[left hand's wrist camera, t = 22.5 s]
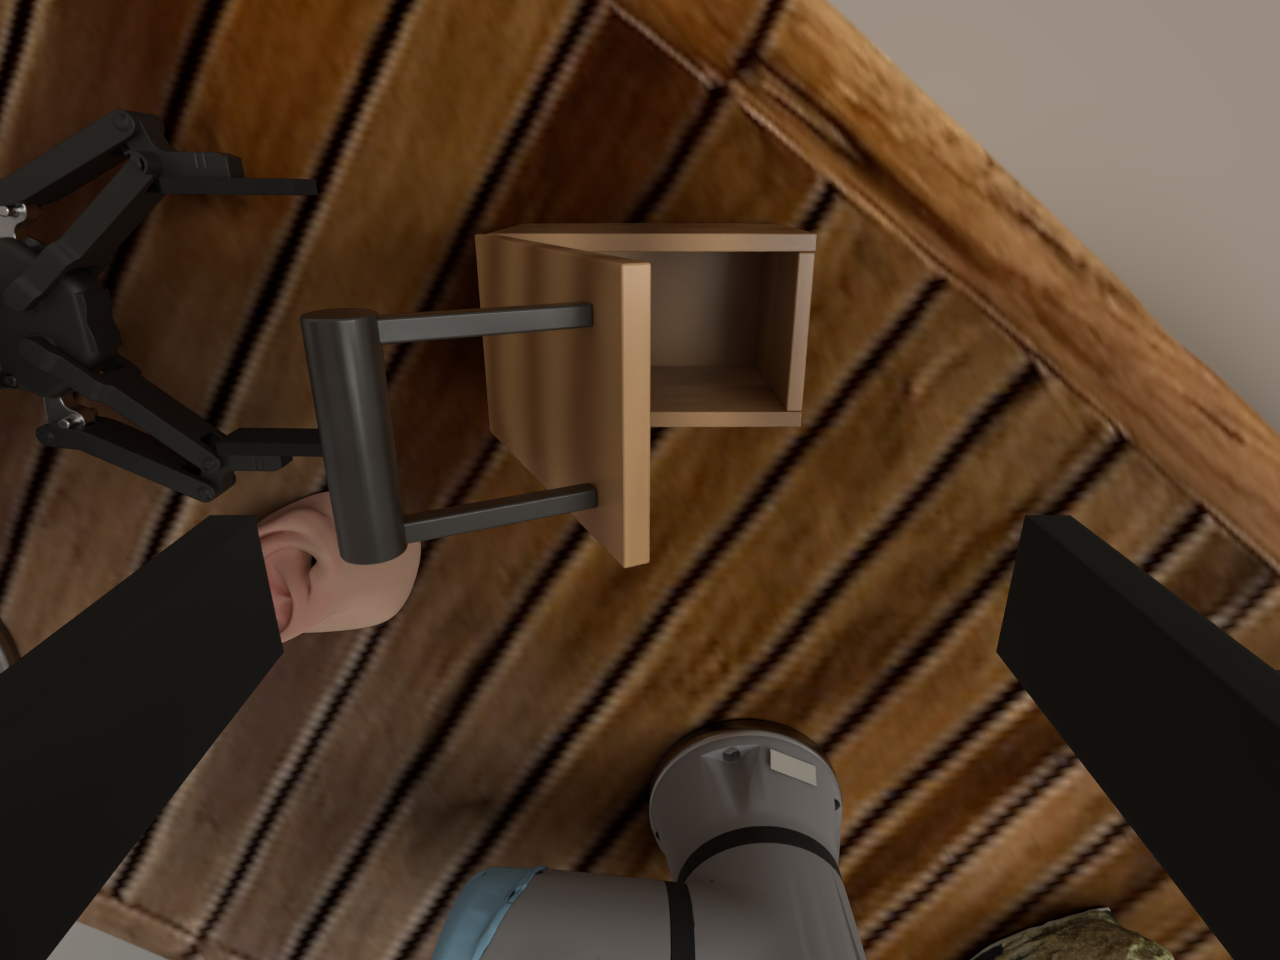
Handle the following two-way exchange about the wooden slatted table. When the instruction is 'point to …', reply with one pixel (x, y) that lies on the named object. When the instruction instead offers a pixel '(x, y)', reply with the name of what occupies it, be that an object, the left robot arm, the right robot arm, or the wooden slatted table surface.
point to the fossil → (1077, 941)
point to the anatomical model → (327, 573)
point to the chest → (714, 314)
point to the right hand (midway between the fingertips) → (326, 323)
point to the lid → (503, 399)
